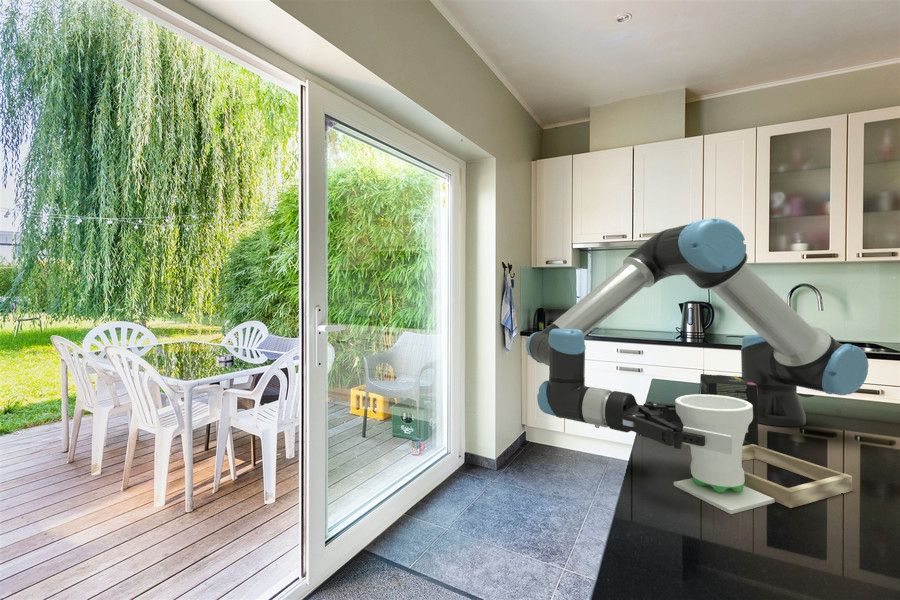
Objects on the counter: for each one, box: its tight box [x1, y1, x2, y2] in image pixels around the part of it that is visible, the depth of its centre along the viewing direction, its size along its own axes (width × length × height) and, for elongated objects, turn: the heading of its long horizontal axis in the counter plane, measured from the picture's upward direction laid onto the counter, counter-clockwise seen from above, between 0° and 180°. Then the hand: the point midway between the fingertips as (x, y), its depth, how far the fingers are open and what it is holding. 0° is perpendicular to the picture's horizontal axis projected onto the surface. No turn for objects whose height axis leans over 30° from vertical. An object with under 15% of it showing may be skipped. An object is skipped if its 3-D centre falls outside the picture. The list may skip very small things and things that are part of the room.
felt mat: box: [673, 477, 775, 515], centre depth 67 cm, size 10×10×1 cm
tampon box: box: [699, 373, 760, 446], centre depth 90 cm, size 11×9×15 cm
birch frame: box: [742, 444, 853, 509], centre depth 72 cm, size 16×16×2 cm
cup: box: [674, 393, 753, 493], centre depth 69 cm, size 11×11×14 cm
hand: (740, 434), depth 65 cm, fingers open, 13 cm apart
